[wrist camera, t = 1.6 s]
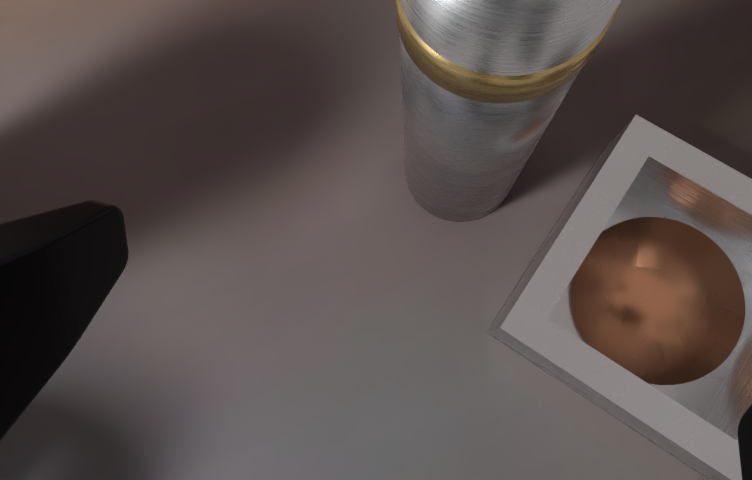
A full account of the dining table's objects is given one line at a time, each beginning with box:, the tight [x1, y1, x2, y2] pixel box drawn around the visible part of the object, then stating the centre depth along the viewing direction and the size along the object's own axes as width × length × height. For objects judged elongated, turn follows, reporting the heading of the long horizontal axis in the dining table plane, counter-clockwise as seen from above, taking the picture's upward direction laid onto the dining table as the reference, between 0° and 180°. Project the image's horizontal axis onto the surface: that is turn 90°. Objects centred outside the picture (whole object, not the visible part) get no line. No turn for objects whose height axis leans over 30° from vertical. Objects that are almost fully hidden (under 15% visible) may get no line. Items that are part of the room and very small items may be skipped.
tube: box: [395, 0, 621, 222], centre depth 15 cm, size 4×4×13 cm
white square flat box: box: [487, 115, 752, 480], centre depth 18 cm, size 8×8×3 cm
